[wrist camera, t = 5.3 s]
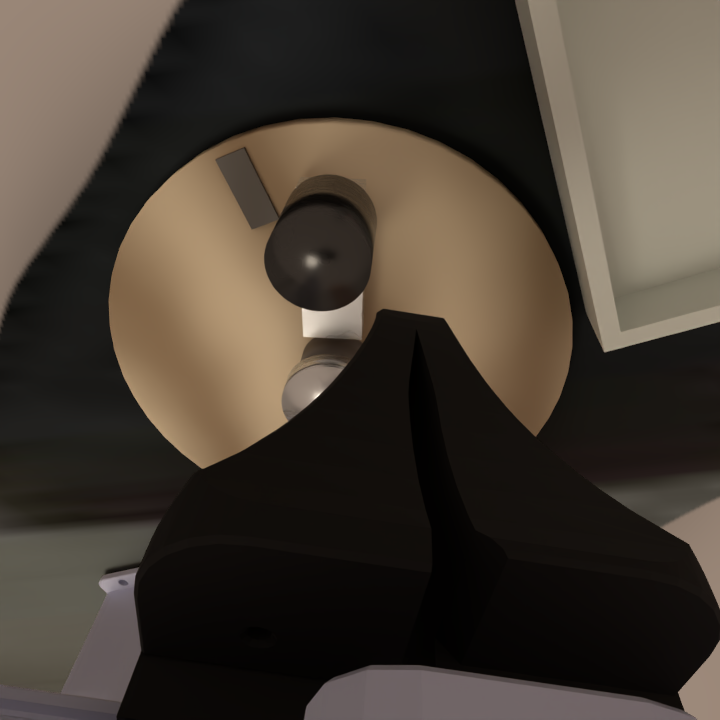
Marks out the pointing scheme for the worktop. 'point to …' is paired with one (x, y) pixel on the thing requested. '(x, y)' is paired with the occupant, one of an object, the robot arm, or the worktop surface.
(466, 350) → the crank plate
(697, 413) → the worktop surface
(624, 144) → the tray
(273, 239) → the dark grey cylinder
